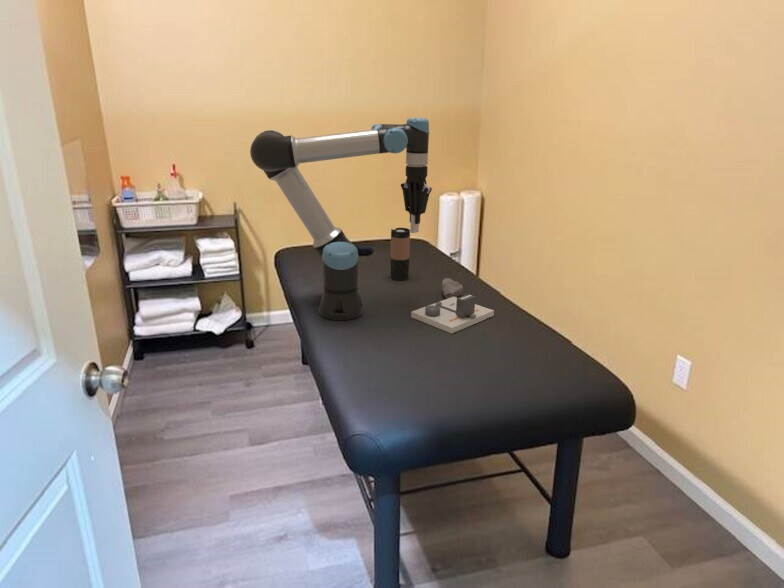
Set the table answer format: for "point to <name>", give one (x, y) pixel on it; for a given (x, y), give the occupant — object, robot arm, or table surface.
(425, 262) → the table surface
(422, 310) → the console
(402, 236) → the travel mug
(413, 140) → the robot arm
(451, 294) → the stone
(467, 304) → the fader
